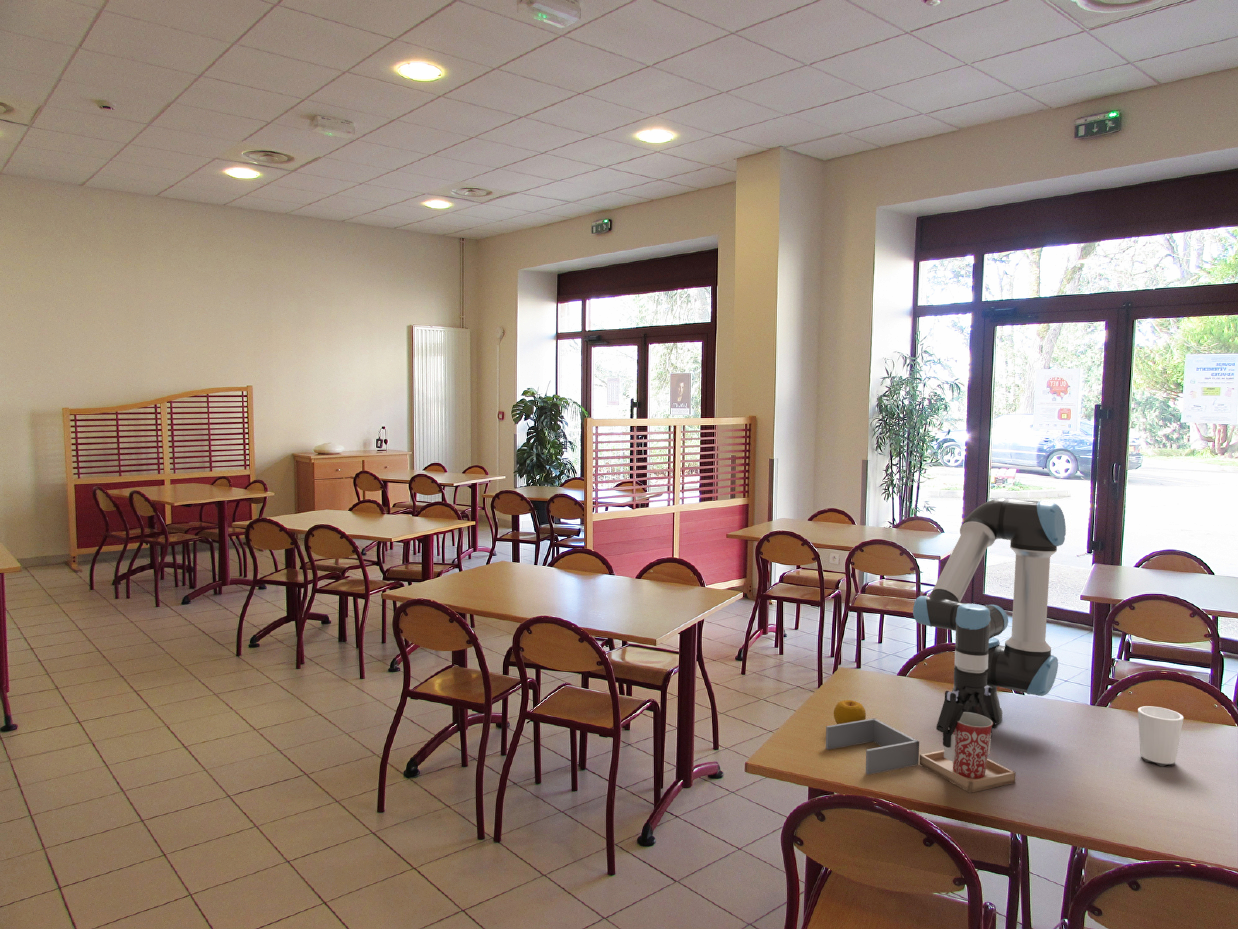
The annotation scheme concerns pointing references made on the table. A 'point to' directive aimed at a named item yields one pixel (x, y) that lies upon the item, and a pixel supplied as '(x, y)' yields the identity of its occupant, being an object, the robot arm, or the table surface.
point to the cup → (1159, 734)
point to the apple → (849, 712)
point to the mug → (972, 745)
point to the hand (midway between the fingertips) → (966, 755)
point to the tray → (944, 768)
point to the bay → (894, 743)
